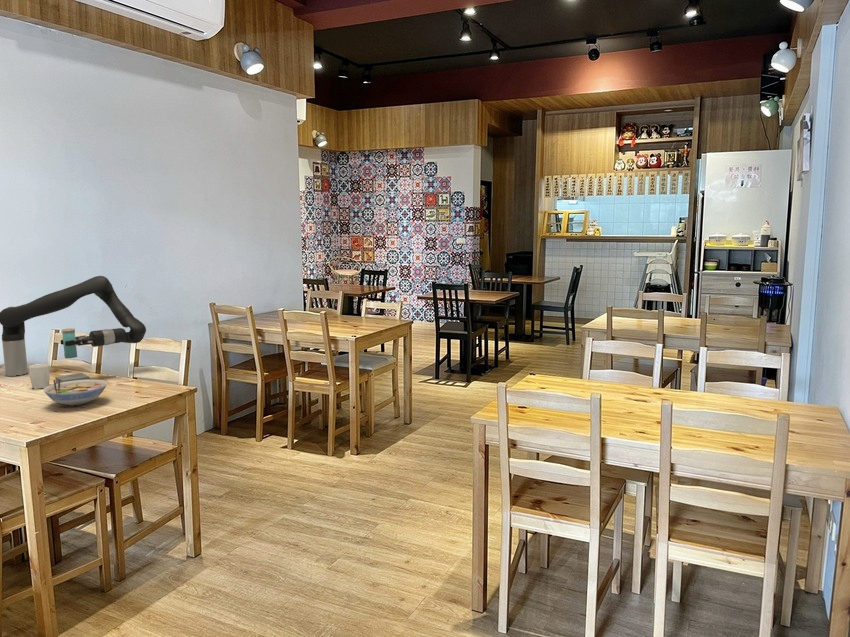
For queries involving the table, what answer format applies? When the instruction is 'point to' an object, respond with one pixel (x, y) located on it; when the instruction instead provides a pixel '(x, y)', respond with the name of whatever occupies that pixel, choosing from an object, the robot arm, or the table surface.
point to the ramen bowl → (75, 391)
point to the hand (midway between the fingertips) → (63, 343)
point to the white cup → (39, 375)
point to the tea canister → (68, 336)
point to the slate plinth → (72, 377)
